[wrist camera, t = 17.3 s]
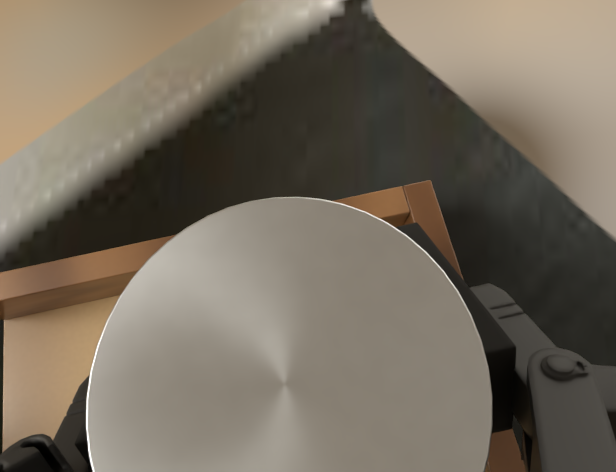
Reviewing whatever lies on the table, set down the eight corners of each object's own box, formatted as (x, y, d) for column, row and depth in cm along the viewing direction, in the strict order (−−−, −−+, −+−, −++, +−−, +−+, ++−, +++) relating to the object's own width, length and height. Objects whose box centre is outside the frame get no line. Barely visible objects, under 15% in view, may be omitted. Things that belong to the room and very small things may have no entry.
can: (250, 480, 17) (91, 689, 6) (226, 315, 19) (73, 235, 8) (412, 443, 17) (565, 581, 6) (371, 284, 19) (426, 159, 8)
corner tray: (9, 790, 15) (-84, 910, 12) (12, 297, 21) (-51, 282, 17) (555, 664, 16) (618, 747, 12) (415, 210, 21) (431, 178, 18)
